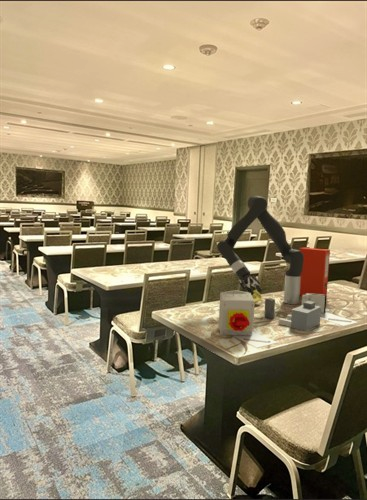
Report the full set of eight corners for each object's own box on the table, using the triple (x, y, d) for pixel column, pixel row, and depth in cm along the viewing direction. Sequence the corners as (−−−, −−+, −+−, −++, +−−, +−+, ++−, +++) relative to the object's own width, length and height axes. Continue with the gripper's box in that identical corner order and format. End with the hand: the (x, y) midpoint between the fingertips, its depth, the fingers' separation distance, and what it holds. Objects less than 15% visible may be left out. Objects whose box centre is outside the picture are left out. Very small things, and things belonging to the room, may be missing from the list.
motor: (295, 315, 200) (297, 295, 199) (322, 321, 190) (324, 300, 189) (278, 323, 186) (279, 302, 184) (306, 331, 176) (307, 308, 174)
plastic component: (243, 305, 210) (231, 295, 216) (239, 315, 214) (228, 304, 220) (265, 298, 223) (253, 288, 229) (261, 307, 226) (249, 297, 232)
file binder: (301, 293, 253) (304, 247, 249) (326, 297, 242) (329, 249, 238) (296, 295, 247) (299, 248, 243) (321, 299, 236) (325, 250, 232)
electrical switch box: (221, 343, 164) (223, 302, 158) (218, 328, 178) (220, 289, 173) (254, 344, 164) (257, 303, 158) (248, 328, 178) (251, 290, 173)
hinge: (301, 312, 207) (302, 295, 206) (299, 310, 212) (300, 293, 211) (326, 313, 206) (327, 296, 205) (323, 310, 211) (324, 293, 210)
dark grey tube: (267, 315, 200) (268, 296, 198) (275, 317, 196) (276, 297, 195) (262, 317, 196) (263, 297, 194) (271, 319, 192) (272, 299, 191)
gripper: (237, 267, 199) (254, 291, 193) (251, 264, 209) (268, 287, 203) (228, 275, 203) (245, 299, 197) (243, 272, 214) (259, 295, 207)
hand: (257, 293), depth 200 cm, fingers open, 8 cm apart
